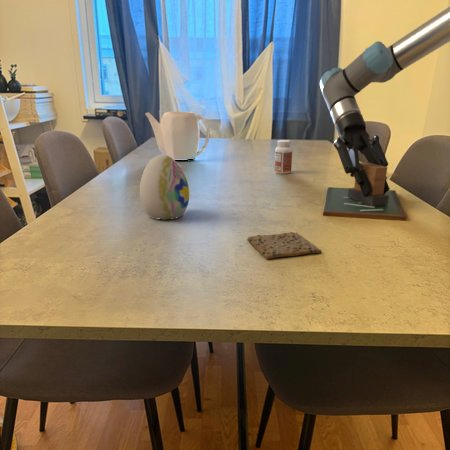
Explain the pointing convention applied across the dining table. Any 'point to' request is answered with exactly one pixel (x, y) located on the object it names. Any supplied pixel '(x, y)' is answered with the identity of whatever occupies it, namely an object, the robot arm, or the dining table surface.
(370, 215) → the chalkboard
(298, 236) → the cookie
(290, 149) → the pill bottle
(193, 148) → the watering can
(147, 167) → the decorative egg
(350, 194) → the eraser
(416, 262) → the dining table surface
